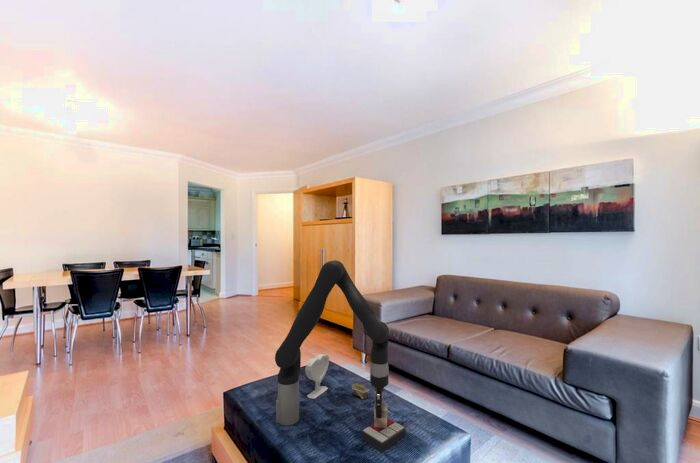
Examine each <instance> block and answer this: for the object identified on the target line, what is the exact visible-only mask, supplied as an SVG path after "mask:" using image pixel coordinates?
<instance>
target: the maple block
mask: <svg viewBox="0 0 700 463" xmlns="http://www.w3.org/2000/svg"><path fill="white" fill-rule="evenodd" d="M377 405H379V406H380V404H377ZM373 414H374V416H373V422H374V423H373V424H374V427H379V428H387V418H388V404H387V403H382V417H381V418H376V410H375V406H374V408H373Z"/></svg>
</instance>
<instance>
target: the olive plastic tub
mask: <svg viewBox="0 0 700 463" xmlns="http://www.w3.org/2000/svg"><path fill="white" fill-rule="evenodd" d="M351 390H353V395H354V396H358V397H360V399H362V400H364V399H366V400H367V399H368V392H370V389H369V388H367V387H366V385H364V384H360V383H357V382H355V383H352V384H351Z"/></svg>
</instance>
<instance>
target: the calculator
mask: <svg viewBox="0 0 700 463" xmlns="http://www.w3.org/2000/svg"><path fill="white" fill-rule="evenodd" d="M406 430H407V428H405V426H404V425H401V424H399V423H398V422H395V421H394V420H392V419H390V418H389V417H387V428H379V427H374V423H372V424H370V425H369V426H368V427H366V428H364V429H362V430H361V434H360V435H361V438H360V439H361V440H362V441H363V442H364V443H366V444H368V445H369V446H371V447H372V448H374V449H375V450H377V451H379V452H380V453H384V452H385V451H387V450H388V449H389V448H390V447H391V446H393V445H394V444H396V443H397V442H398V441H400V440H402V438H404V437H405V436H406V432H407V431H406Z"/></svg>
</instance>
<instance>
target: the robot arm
mask: <svg viewBox="0 0 700 463" xmlns="http://www.w3.org/2000/svg"><path fill="white" fill-rule="evenodd" d="M335 285H336V286H337V287H338V288H339V289H340V291H341V292H342V293H343V295H344V296H345V299H346V300H347V303H348V306H349V307H350V309H351V310H352V312H353V313H354V315H355V316H356V317H357V319H358V320H359V322H360V323H361V324H362V327H363V328H364V330H365V332H366V334H367V336H368V337H369V339H371V341H372V343H371V349H370V366H369V378H370V379H369V383H370V385H371V386H372V387H374V389H373V390H374V391H373V392H374V402H375V403H374V407H375V410H376V418H381V417H382V404H384V395H385V387H388V385H389V353H388V350H389V349H388V346H389V338H390V337H389V333H390V331H389V326H388V325H387V323H385V322H383V321H379V320H378V319H377V316H376V312H375V310H374V309H373V308H372V307H371V305H370V304H369V302H368V301H367V300H366V299H365V298H364V295H362V293H361V291H359V289H358V288H357V287H356V285H355V283H354V281H353V280H352V278H351V276H350V274H349V272H348V271H347V269H346V268H345V266H344V264H343V263H342V262H341V261H339V260H336V259H335V260H334V259H333V260H330V261H327V262H325V263H324V264H323V265H322V266H321V268H320V271H319V272H318V276H317V279H316V280H315V283H314V285H313V287H312V289H311V290H310V292H309V293H308V295H307V297H306V298H305V300H304V302H303V303H302V305H301V306H300V309H299V311H298V312H297V315H296V317H295V318H294V320H293V322H292V324H291V327H290V329H289V331H288V333H287V335H286V336H285V339H284V340H283V342H281V344H280V346H279V347H278V348H277V350H276V351H275V355H274V362H275V364H276V366H277V367H278V368H279V371H278V374H277V398H276V400H275V423H278V424H279V425H281V426H291V425H294V424H296V423H297V422H299V421H300V373H301V365H302V364H301V363H302V359H301V358H302V352H301V347H302V345H303V343H304V342H305V340H306V339H307V338H308V336H309V335H310V334H311V333H312V331H313V330H314V328H315V327H316V326H317V324H318V322H319V320H320V318H321V316H322V315H323V313H324V310H325V307H326V302H327V299H328V298H329V295H330V293H331V291H332V289H333V288H334V287H335ZM377 404H380V406H379V405H377Z"/></svg>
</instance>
